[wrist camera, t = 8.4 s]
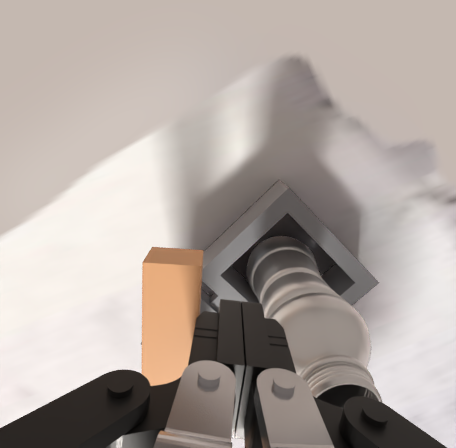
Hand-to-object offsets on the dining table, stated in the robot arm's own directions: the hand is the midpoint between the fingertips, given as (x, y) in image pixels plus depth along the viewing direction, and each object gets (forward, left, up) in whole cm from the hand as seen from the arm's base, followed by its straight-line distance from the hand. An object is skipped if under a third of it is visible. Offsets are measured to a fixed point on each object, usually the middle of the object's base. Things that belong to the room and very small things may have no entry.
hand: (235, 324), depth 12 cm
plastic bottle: (-8, +1, -22) cm, 24 cm away
